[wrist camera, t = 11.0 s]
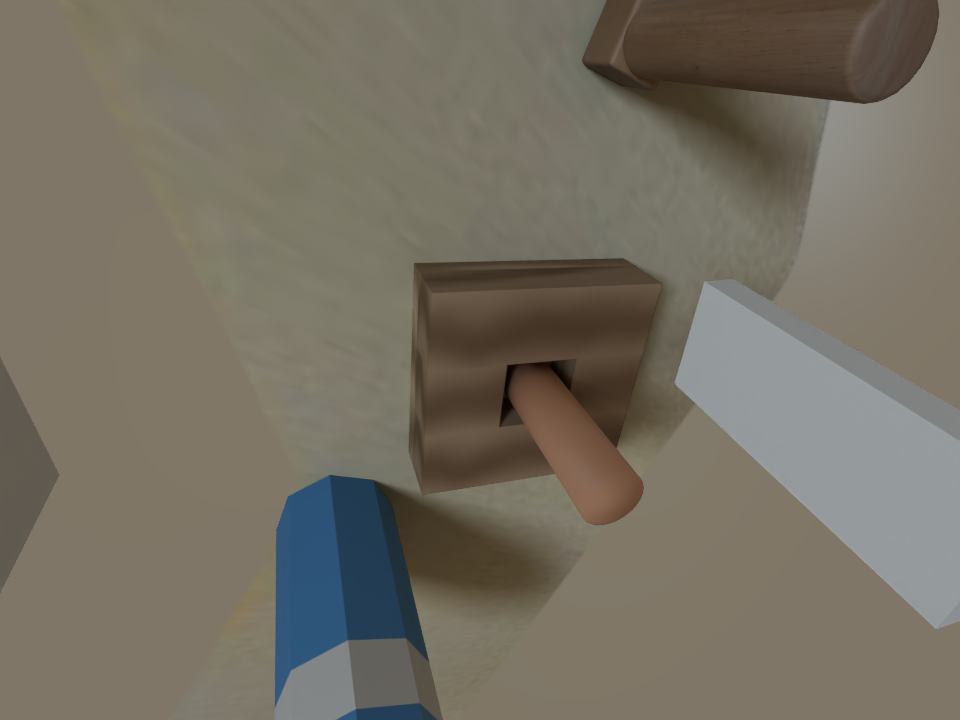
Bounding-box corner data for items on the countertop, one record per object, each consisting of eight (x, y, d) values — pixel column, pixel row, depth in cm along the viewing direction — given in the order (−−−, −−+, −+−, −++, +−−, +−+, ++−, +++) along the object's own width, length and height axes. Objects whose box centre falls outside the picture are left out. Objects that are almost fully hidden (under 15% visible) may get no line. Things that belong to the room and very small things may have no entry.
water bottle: (326, 456, 41) (372, 875, 20) (414, 500, 46) (520, 869, 26) (250, 534, 42) (222, 997, 22) (343, 569, 47) (391, 968, 27)
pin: (498, 348, 39) (588, 478, 27) (545, 345, 40) (651, 468, 28) (492, 391, 41) (575, 530, 29) (538, 387, 42) (634, 518, 30)
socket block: (414, 263, 35) (431, 292, 31) (623, 258, 40) (662, 283, 36) (408, 451, 43) (422, 495, 39) (583, 428, 48) (611, 464, 44)
